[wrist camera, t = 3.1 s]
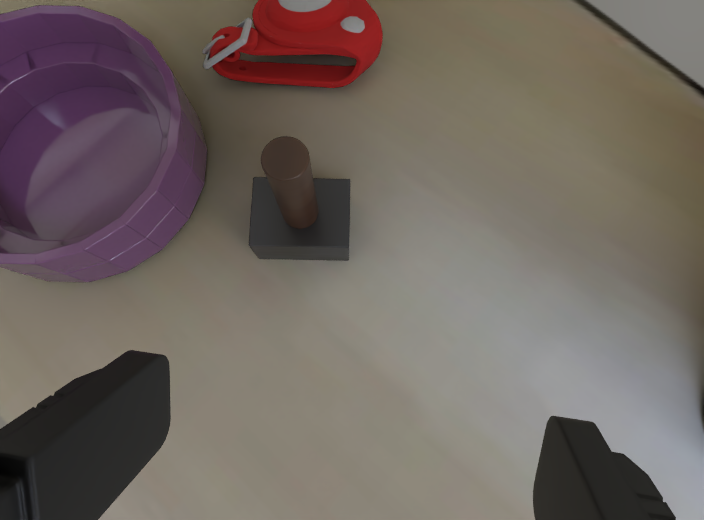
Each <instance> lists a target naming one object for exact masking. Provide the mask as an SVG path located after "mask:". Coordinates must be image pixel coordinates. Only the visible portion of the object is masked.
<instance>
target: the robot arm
mask: <svg viewBox="0 0 704 520" xmlns="http://www.w3.org/2000/svg"><path fill="white" fill-rule="evenodd" d="M169 426H170V371H169V361H168V359H167V357H166V356H164V355H160V354H154V353H147V352H141V351H134V350H130V351H127V352H125V353H124V354H122V355H121V356H120V357H118V358H117V359H115V360H114V361H112V362H111V363H110V364H108V365H107V366H105V367H104V368H102V369H99V370H96V371H94V372H91V373H89V374H86V375H84V376H81V377H79V378H76V379H74V380H73V381H71V382H70V383H68V384H67V385H65V386H64V387H62V388H61V389H59V390H58V391H56V392H55V394H54V396H51V395H50V396H49V397H47V398H46V399H44V400H43V401H41V402H40V403H38V404H37V407H36V408H34V407H32V408H31V409H30V410H28V411H27V412H25V413H24V414H22V415H21V416H19V417H18V418H16V419H15V420H13V421H12V422H10V423H9V424H7V425H6V426H4V427H3V428H1V429H0V520H98V519H99V518H100V517H101V515H102V514H103V513H104V512H105V511H106V510H107V509H108V507H109V506H110V505H111V504H112V503H113V502H114V501H115V499H116V498H117V497H118V496H119V495H120V494H121V493H122V491H123V490H124V489H125V488H126V487H127V486H128V485H129V483H130V482H131V481H132V480H133V479H134V478H135V477H136V475H137V474H138V473H139V472H140V471H141V470H142V469H143V467H144V466H145V465H146V464H147V463H148V462H149V461H150V459H151V458H152V457H153V456H154V455H155V454H156V453H157V451H158V450H159V449H160V448H161V446H162V445H163V443H164V441H165V439H166V437H167V434H168V431H169ZM533 507H534V515H535V520H676V517H675V516H674V514H673V513H672V511H671V510H670V508H669V507H668V505H667V503H666V502H663V497H662V496H661V494H660V493H659V491H658V490H657V488H656V487H655V485H654V483H653V482H652V480H651V479H650V477H649V476H648V475H647V474H646V473H645V472H644V471H643V470H642V469H641V468H639V467H638V466H637V465H636V464H635V463H634V462H632V461H631V460H630V459H629V458H628V457H627V456H625V455H624V454H621V453H615V452H611V450H610V448H609V446H608V445H607V443H606V441H605V440H604V438H603V436H602V434H601V433H600V431H599V429H598V428H597V426H596V425H595V423H593V422H590V421H583V420H577V419H570V418H564V417H557V416H551V417H550V418H549V420H548V422H547V425H546V430H545V434H544V439H543V444H542V449H541V453H540V458H539V463H538V467H537V472H536V477H535V482H534V489H533Z"/></svg>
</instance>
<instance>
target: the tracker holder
mask: <svg viewBox="0 0 704 520" xmlns="http://www.w3.org/2000/svg"><path fill="white" fill-rule="evenodd" d="M252 16H253V22H254V26H255V28H256V29H254V28H252V27H251V24H252V20H251V19H250V18H247V19H245V20H244V21H242V22H241V23H239V24H238V25H237V26H235V27H226V28H223V29H220V30H219V31H218V32H217V33H216V34H215V35H214V36H213V38H212V41H211V42H210V43H209V44H207V45H206V47H205V48H204V49H203V50H202V52H203V54H207V55H206V58H205V61H204V63H203V67H204V68H205V69H209V68H210V67H213V69H214V70H215V71H216V72H217V73H218V74H220V75H222V76H224V77H227V78H229V79H232V80H238V81H246V82H256V83H269V84H284V85H298V86H312V87H326V88H336V87H343V86H345V85H348V84H350V83H351V82H353V81H354V80H355V79H356V78H357V77H358V76H360V75H361V74H362V73H363V72H364V71H365V70H366V69H368V68H369V67H370V66H371V65H372V63H373V62H374V61H375V60H376V58H377V57H378V55H379V52H380V49H381V44H382V36H383V33H382V28H381V24H380V21H379V18H378V16H377V14H376V13H375V11H374V10H373V9H372V8H371V6H370V5H369V4H368V3H367V1H366V0H259V1H258V2H257V4H256V5H255V7H254V9H253V14H252ZM240 52H242V53H246V54H250V55H271V56H274V55H312V54H331V55H339V56H347V57H351V58H355V59H356V60H357V62H356V65H355V66H332V65H311V64H291V63H273V62H251V61H244V60H238V59H239V58H240Z"/></svg>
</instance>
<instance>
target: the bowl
mask: <svg viewBox="0 0 704 520" xmlns="http://www.w3.org/2000/svg"><path fill="white" fill-rule="evenodd" d="M206 159H207V147H206V143H205V139H204V135H203V132H202V128H201V124H200V120H199V117H198V115H197V114H196V112H195V110H194V109H193V107H192V105H191V104H190V102H189V100H188V98H187V97H186V95H185V93H184V91H183V90H182V88H181V86H180V85H179V83H178V81H177V79H176V78H175V76H174V74H173V73H172V71H171V69H170V68H169V67H168V65H167V64H166V62H165V61H164V59H163V58H162V57H161V55H160V54H159V52H158V51H157V49H156V48H155V46H154V45H153V44H152V42H151V41H150V40H149V39H147V38H146V37H144V36H143V35H142V34H140V33H139V32H137V31H136V30H135V29H133V28H132V27H130V26H129V25H128V24H126V23H125V22H123V21H122V20H121V19H118V18H116V17H113V16H110V15H107V14H104V13H100V12H97V11H94V10H91V9H88V8H85V7H80V6H53V5H39V6H38V5H37V6H33V7H28V8H24V9H20V10H16V11H12V12H8V13H3V14H0V267H2V268H5V269H8V270H12V271H15V272H18V273H22V274H25V275H29V276H32V277H35V278H39V279H42V280H45V281H54V282H91V281H95V280H98V279H102V278H105V277H109V276H112V275H116V274H119V273H123V272H126V271H128V270H130V269H132V268H134V267H135V266H137V265H138V264H140V263H141V262H143V261H145V260H146V259H148V258H149V257H151V256H153V255H154V254H156V253H157V252H159V251H160V250H162V248H164V247H165V246H166V245H167V244H168V242H169V241H170V240H171V239H172V238H173V237H174V236H175V234H176V233H177V232H178V231H179V230H180V229H181V228H182V226H183V225H184V224H185V223H186V222H187V221H188V219H189V218H190V216H191V213H192V211H193V209H194V207H195V204H196V202H197V200H198V198H199V195H200V193H201V191H202V189H203V186H204V180H205V170H206Z"/></svg>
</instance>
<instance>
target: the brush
mask: <svg viewBox="0 0 704 520" xmlns="http://www.w3.org/2000/svg"><path fill="white" fill-rule="evenodd" d="M261 164H262V167H263V170H264V172H265V175H266V177H254V178H253V191H252V206H251V220H250V235H249V246H250V248H251V249H252V250H253V251H254V253H255V254H256V255H257V256H258V258H259V259H292V260H344V261H348V260H349V227H350V179H317V178H313V175H312V169H311V163H310V158H309V153H308V150H307V148H306V146H305V145H304V144H303V143H302V142H301V141H299V140H298V139H296V138H293V137H287V136H283V137H278V138H275V139H273V140H272V141H270V142H269V143H268V144H267V145H266V146H265V148H264V149H263V152H262V155H261Z"/></svg>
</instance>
